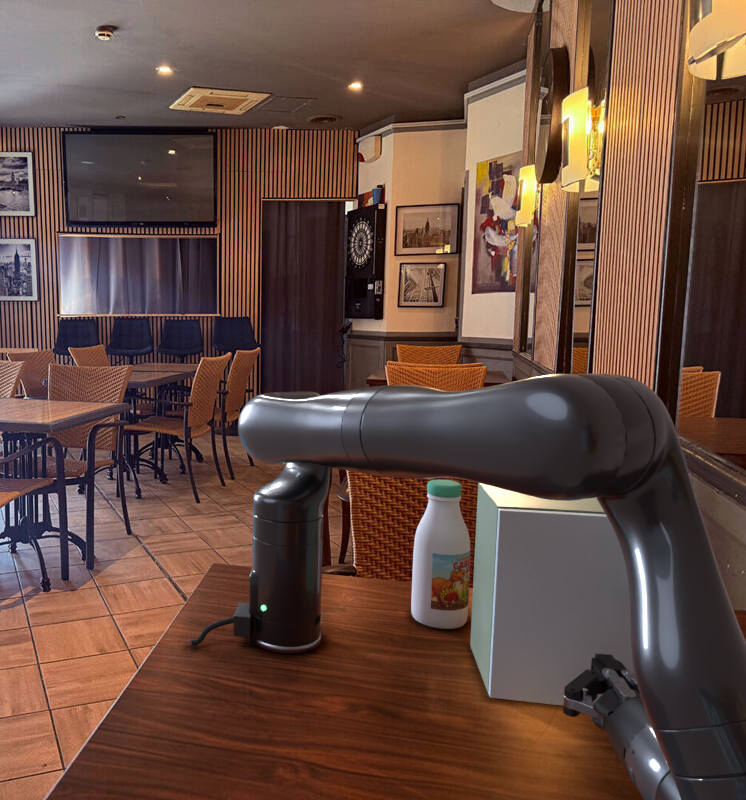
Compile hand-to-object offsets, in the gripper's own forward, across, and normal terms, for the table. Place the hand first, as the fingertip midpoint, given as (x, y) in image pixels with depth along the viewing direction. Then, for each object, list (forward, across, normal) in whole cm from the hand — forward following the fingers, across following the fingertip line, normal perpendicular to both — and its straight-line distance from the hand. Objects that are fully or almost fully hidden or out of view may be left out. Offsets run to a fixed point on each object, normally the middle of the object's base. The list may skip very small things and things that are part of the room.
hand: (601, 662), depth 72 cm
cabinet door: (+1, +2, +7) cm, 7 cm away
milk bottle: (+25, +13, +7) cm, 29 cm away
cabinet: (+11, +2, +7) cm, 13 cm away
